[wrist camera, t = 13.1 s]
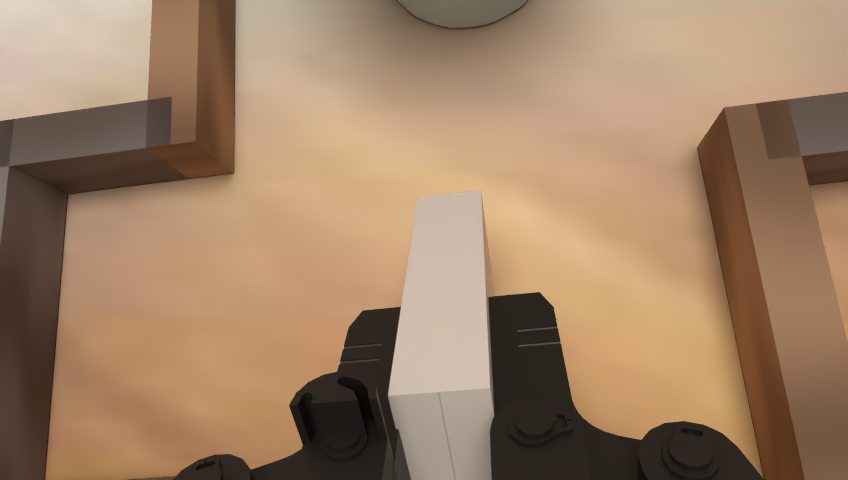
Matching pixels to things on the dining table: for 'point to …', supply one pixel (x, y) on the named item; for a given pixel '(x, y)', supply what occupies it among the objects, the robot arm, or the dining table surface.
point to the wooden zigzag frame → (214, 155)
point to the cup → (461, 11)
